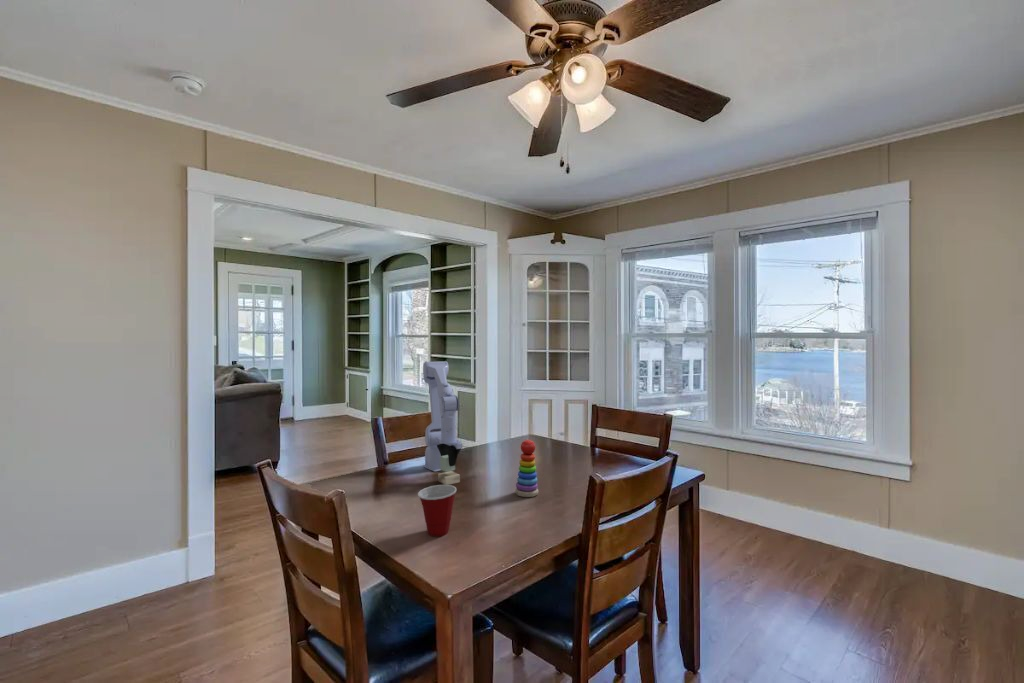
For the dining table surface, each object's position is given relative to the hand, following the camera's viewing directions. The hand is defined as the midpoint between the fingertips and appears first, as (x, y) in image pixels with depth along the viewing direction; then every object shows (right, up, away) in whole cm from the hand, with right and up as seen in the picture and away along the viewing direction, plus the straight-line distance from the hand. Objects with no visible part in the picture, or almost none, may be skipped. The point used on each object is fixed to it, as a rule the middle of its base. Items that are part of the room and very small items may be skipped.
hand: (448, 464), depth 174 cm
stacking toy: (+29, -7, -13) cm, 32 cm away
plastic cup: (+3, -8, -44) cm, 45 cm away
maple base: (0, -7, 0) cm, 7 cm away
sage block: (0, -2, 0) cm, 2 cm away
